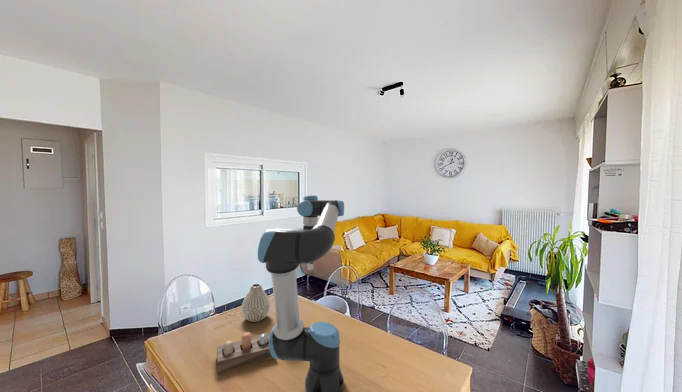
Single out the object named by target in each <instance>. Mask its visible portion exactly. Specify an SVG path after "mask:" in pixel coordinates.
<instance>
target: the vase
mask: <svg viewBox="0 0 682 392" xmlns="http://www.w3.org/2000/svg"><path fill="white" fill-rule="evenodd" d="M270 308H271V301H270V298H269V296H268V294H267V292H265V290H264V289H263V287H262V284H261V283H253V284H252V285H251V286H250V288H249V290H248V292H247V294H246V295H245V296H244V299H243V301H242V304H241V312H242V316H243V317H244V319H246V320H247V321H248V322H251V323H257V322H261V321H263V320H264V319H265V318H266V317H268V314H269V312H270Z"/></svg>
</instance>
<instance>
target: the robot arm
mask: <svg viewBox="0 0 682 392" xmlns="http://www.w3.org/2000/svg"><path fill="white" fill-rule="evenodd" d="M318 198H319V197H318V195H315V194H314V195H312V194H311V195H303V200H301V201H300V202H299V203H298V204H297V206H296V211H297V214H299V215H300V216H301V217H302V218H303V221H302V223H303V226H302V228H303V229H296V228H295V229H293V228H289V229H288V228H285V229H284V228H269V229H266V230H264V232H263V233H262V235H261V236H260V239H259V243H258V248H257V260H258V261H259V262H260V263H262V264H265V268H266V271H267V272H268V273H269V274H271V284H272V285H271V286H272V291H273V292H272V293H273V300H274V301H273V303H274V310H275V321H276V322H275V324H274V325H273V327H272V328H271V330H270V333H269V334H270V336H269V351H270V354H271V356H272V357H273V358H272V359H275V360H280V361H295V362H297V361H298V362H309V368H308V371H307V373H306V377H305V380H304V389H305V392H343V391H344V387H345V383H344V382H345V381H344V380H345V379H344V376H343V373H342V369H341V367H340V345H341V340H340V337H341V336H340V331H339V329H338V328H337V327H336V326H335V325H334V324H333V323H330V322H327V321H318V322H313V323H312V324H311V325H310V326H307V327H306V326H305V325H304V324H305V323H304V321H303V319H301V318H300V310H299V308H300V307H299V299H298V296H299V295H298V283H297V272H296V271H297V269H299V266H300V265H303V264H304V265H306V264H307V267H306V268H307V270H308V271H312V270H313V271H314V263H315V262H317V261H318V260H321V259H322V258H323V257H325V256H326V255H327V254H328V253H329V252H330V251H331V250H332V248H333V246H334V243H335V241H336V235H335V229H336V225H337V222H338V218H339V217H344V215H345V202H344V201H343V200H337V199H335V200H334V199H333V200H330V199H329V200H326V199H325V200H322V199H321V200H320V199H318Z"/></svg>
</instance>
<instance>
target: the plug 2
mask: <svg viewBox="0 0 682 392" xmlns="http://www.w3.org/2000/svg"><path fill="white" fill-rule="evenodd" d="M268 334H269V333H266V332H262V333H260V334H258V336H259V346H262V345H266V344H268Z"/></svg>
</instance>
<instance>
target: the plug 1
mask: <svg viewBox="0 0 682 392" xmlns="http://www.w3.org/2000/svg"><path fill="white" fill-rule="evenodd" d="M233 342H234V341H233V340H228V341H225V342H224V343H223V345H224V355H227V354H231V353H233Z"/></svg>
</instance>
